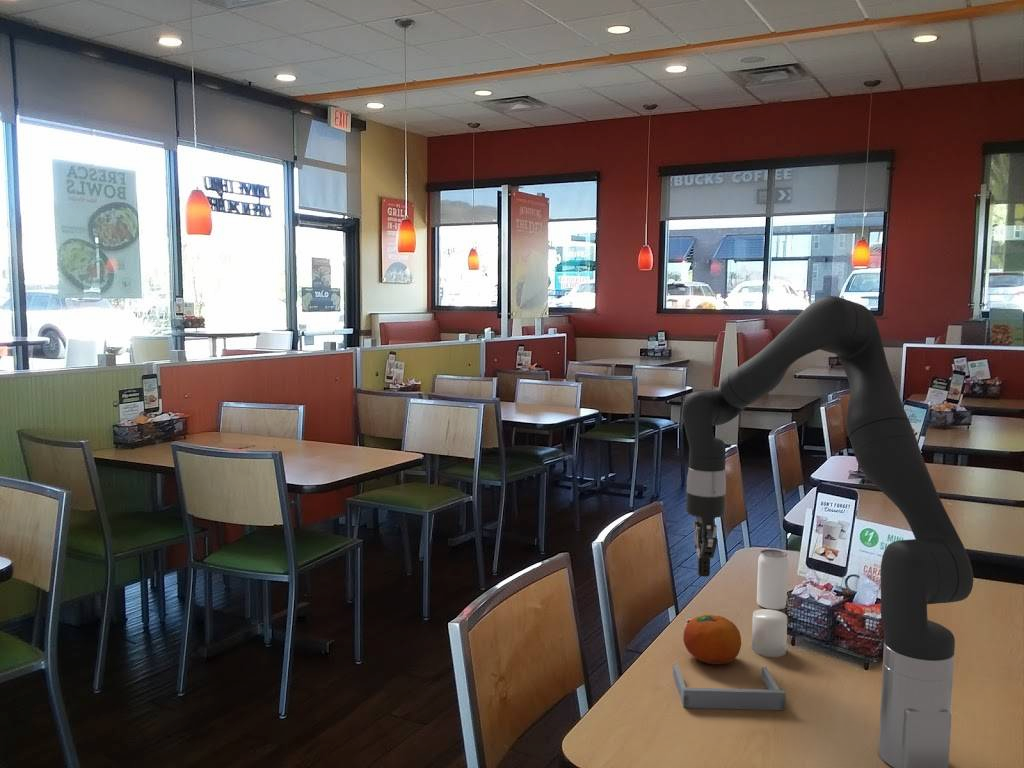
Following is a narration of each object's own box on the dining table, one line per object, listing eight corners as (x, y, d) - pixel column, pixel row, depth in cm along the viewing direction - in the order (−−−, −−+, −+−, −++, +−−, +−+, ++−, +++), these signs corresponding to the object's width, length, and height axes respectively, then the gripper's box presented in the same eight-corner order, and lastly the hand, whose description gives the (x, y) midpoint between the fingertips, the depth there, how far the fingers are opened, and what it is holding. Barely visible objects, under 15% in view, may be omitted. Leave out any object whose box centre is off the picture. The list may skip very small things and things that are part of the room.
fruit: (748, 656, 157) (749, 616, 156) (730, 677, 149) (731, 634, 148) (694, 643, 163) (695, 604, 162) (674, 662, 154) (675, 621, 154)
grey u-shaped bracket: (784, 710, 137) (785, 692, 136) (683, 707, 137) (684, 690, 137) (765, 677, 149) (766, 661, 148) (673, 675, 149) (673, 659, 149)
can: (756, 608, 182) (758, 555, 181) (756, 598, 188) (758, 547, 187) (787, 612, 180) (789, 558, 179) (786, 601, 186) (788, 550, 185)
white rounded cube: (790, 657, 157) (791, 622, 156) (756, 656, 157) (757, 621, 157) (780, 643, 163) (782, 609, 163) (748, 642, 164) (749, 608, 163)
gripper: (732, 499, 157) (729, 587, 158) (718, 483, 170) (715, 564, 172) (692, 498, 157) (690, 586, 159) (681, 482, 170) (679, 564, 172)
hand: (703, 575), depth 165 cm, fingers closed
